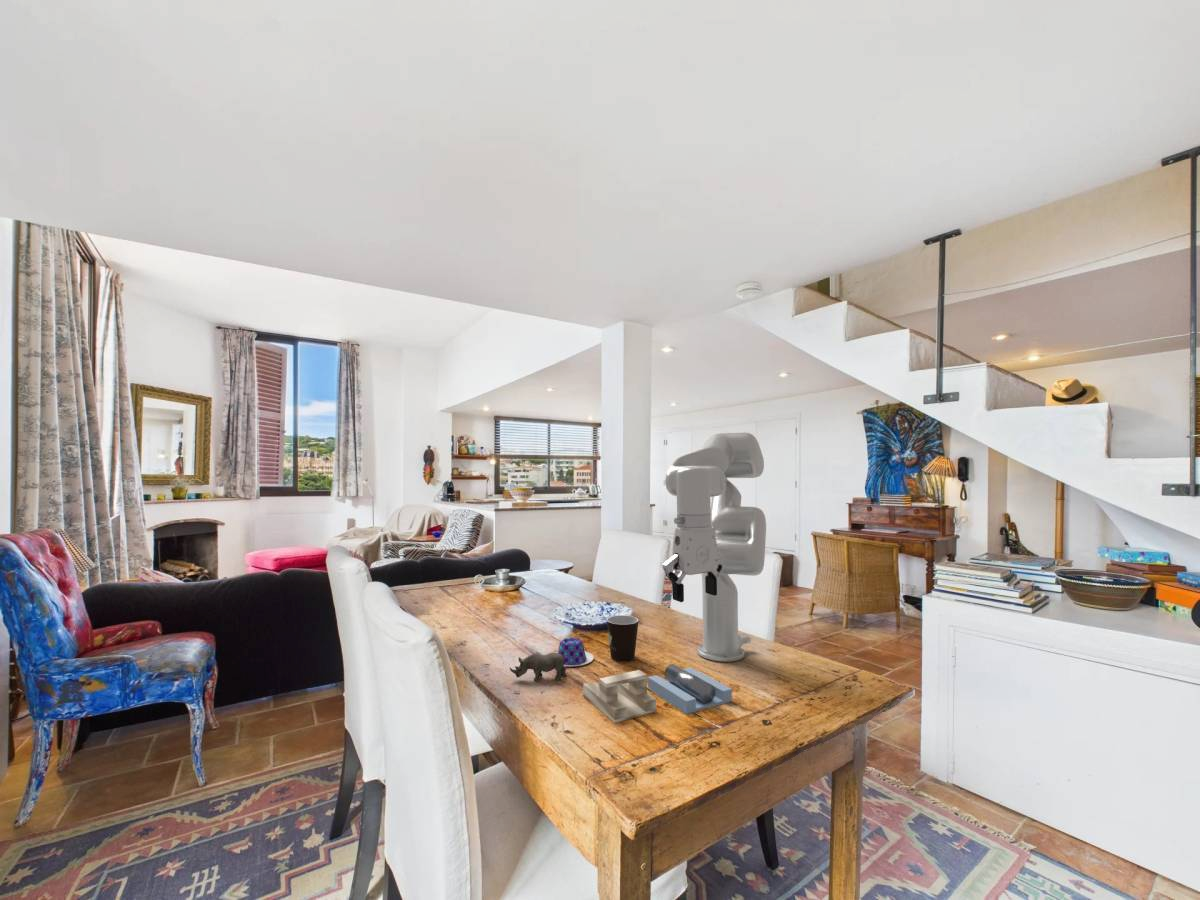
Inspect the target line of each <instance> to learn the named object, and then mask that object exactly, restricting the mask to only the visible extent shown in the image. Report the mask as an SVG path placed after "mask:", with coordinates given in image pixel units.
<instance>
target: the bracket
mask: <svg viewBox="0 0 1200 900" xmlns="http://www.w3.org/2000/svg"><path fill="white" fill-rule="evenodd" d="M647 690H648V674H647V673H645V672H644V671H642V670H640V669H637V670H633V671H627V672H623V673H619V674H614V675H611V676H605V677H601V678H599V680H598V684H597V683H596V682H595V681H591V682H586V683H583V684H582V696H583V697H584V698H585V699H587V700H588V702H590V703H591V704H593V706H595V707H596V708H597V709H598V710H599V711H601V713H603V714H604V715H605V716H606V717H608V718H609V720H611V721H612V722H613V723H619V722H622V721H626V720H630V719H633V718H636V717H640V716H644V715H648V714H651V713H655V712H657V698H656V697H654V696H652V695H651V694H650V693H648V691H647Z"/></svg>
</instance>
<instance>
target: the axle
mask: <svg viewBox="0 0 1200 900" xmlns="http://www.w3.org/2000/svg"><path fill="white" fill-rule="evenodd" d="M684 669H685V668H682V667H680V666H678V665H676V664H675V663H670V664H668V665H667V666H666V668H665V670H664V674H663V675H664V680H666V681H669V682H670V683H672V684H674V685H675V686H677V687H679V688H680V689H682V690H683V691H685V692H687V693H688V694H690V695H692V696H693V697H695V698H697V699H698V700H700V701H702V702H703V703H705V704H708V703H710V702H712V701H713V699H714V697H715V688H714V686H713V685H711V684H710V683H708V682H706V681H704V680H702V679H700V678H699V677H697V676H695V675H693V674H691V673H689V672H687V671H686V670H684Z"/></svg>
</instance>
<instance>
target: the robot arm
mask: <svg viewBox="0 0 1200 900" xmlns="http://www.w3.org/2000/svg"><path fill="white" fill-rule="evenodd" d="M764 468H765V460H764V456H763V452H762V450H761V446H760V444H759V441H758V440H757V438H756V437H755V436H754V434H752V433H750V432H728V433H727V432H724V433H723V432H722V433H715V434H713V435H711V436H710V437H709V438H708V439H707V440H706V442H705V443H704V445H703V446H702V447H701V448H700V449H697V450H695V451H692V452H689V453H686V454H684V455H682V456H679V457H677V458H676V459H675V460H673V461H672V463H671V464H670V466H669V468H668V469H667V471H666V474H665V479H664V480H665V483H664V484H665V489H666V490H667V492H668V493H669V494H670V495H671V496H674V497H676V517H675V518H674V519H673V522H674V524H675V525H676V528H675V529H674V535H673V541H672V543H673V544H672V555H671V557H669V559H667V560H666V561H664V563H662V565H661V567H662V569H663V571H664V573H665V576H666V577H667V578H668V580H669V582H671V591H672V593H671V594H672V599H673V600H674V601H676V602H679V603H684V601H685V592H684V591H685V587H684V583H683V580H684V579H685V577H686V575H687V576H694V575H701V580H702V581H701V584H702V586H701V588H702V589H701V591H702V643H701V644H699V645H698V646H697V651H696V652H697V653H698V655H699V656H700V657H702V658H704V659H706V660H711V661H715V662H725V663H726V662H727V663H729V662H737V661H740V660H742V659H743V658H744V657H745V650H744V649H743V648H742V646H743V645H745V644H746V645H747V644H750V643H751V641H752V639H751V637H750V636H749V635H745V636H741V635H739V604H738V603H739V599H738V598H739V594H738V589H737V586H736V584H735V582H734V580H732V577H730V575H741V576H750V577H751V576H754V577H755V576H758V575H760V574H761V573H762V572H763V570H764V566H765V559H766V557H765V555H766V542H767V541H766V539H767V521H766V515H765V513H764V511H763V510H762V509H761V508H759V507H756V506H755V507H754V506H742V505H741V504H742V494H741V492H740V491H739V489H738V487H736V486H735V485H734V484H733V483H732V482H731V481H730V480H729V479H744V478H745V479H754V478H759V477H761V475H762V474H763V473H764Z"/></svg>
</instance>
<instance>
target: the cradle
mask: <svg viewBox="0 0 1200 900" xmlns="http://www.w3.org/2000/svg"><path fill="white" fill-rule="evenodd" d="M683 669H684V670H686V671H687V672H689V673H691V674H693V675H695V676H697V677H699V678H700V679H702V680H704V681H706V682H708V683H710V684H711V685H713V686H714V688H715V697H714V699H713V701H712V702H710V703H708V704H705V703H703V702H702V701H700V700H698V699H697V698H695V697H693V696H692V695H690V694H688V693H687V692H685V691H683V690H682V689H680V688H679V687H677V686H675V685H674V684H672V683H670V682H669V681H667V680H666V679H665V678H662V677H661V676H660V675H657V674H656V675H652V676H647V690H649V691H651V692H652V693H653V694H655V695H657V697H660V698H661V699H663V700H664V701H665V702H667V703H669V704H670V705H672V706H673V707H675V708H676V709H678V710H680V711H681V712H682V713H683V714H685V715H689V714H692V713H695V712H696V713H697V712H699V711H702V710H706V709H709V708H713V707H716V706H719V705H724V704H727V703H730V702H732V701H733V689H732V688H731V687H729V686H727V685H725V684H723V683H721V682H719V681H717V680H716V679H714V678H712V677H710V676H708V675H707V674H704V673H703V672H700V671H698V670H696V669H694V668H693V667H691V666H689V667H686V668H683Z"/></svg>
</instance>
